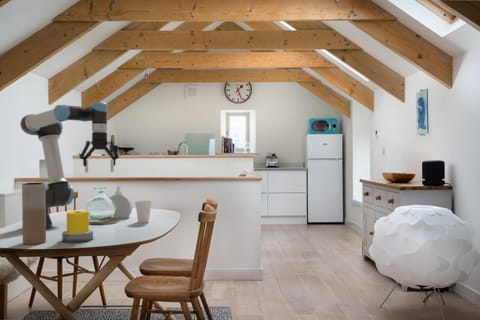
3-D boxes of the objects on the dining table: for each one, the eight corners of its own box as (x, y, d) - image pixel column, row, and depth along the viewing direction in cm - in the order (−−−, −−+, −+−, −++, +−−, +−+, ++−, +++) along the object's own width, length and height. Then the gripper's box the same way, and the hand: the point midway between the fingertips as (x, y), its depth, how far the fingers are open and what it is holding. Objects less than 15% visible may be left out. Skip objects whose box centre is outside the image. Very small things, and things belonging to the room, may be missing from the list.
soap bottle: (105, 218, 286) (104, 186, 285) (107, 216, 291) (107, 185, 290) (130, 218, 285) (130, 186, 285) (132, 216, 291) (132, 185, 290)
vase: (18, 244, 208) (17, 184, 207) (31, 240, 218) (30, 182, 217) (37, 245, 206) (37, 184, 205) (50, 240, 216) (49, 182, 215)
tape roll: (66, 230, 220) (65, 211, 220) (87, 229, 224) (87, 210, 224) (67, 234, 211) (67, 214, 211) (90, 232, 215) (90, 212, 215)
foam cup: (132, 221, 272) (132, 200, 271) (146, 220, 278) (146, 198, 277) (140, 223, 264) (140, 201, 264) (154, 222, 271) (154, 200, 270)
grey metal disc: (58, 239, 220) (58, 231, 220) (88, 236, 228) (88, 228, 228) (66, 244, 208) (66, 235, 208) (96, 240, 216) (96, 232, 216)
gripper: (77, 131, 229) (77, 173, 230) (124, 132, 244) (124, 171, 244) (73, 131, 235) (73, 172, 236) (119, 132, 250) (119, 171, 250)
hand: (99, 172), depth 240 cm, fingers open, 13 cm apart
